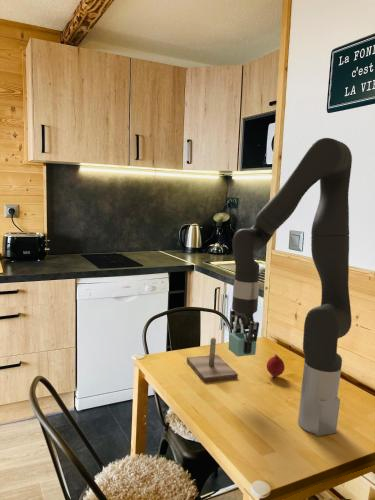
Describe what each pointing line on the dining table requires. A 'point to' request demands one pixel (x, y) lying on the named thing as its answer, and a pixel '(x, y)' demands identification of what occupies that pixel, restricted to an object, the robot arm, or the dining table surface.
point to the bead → (239, 344)
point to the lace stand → (211, 366)
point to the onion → (275, 366)
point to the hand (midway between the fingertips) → (241, 349)
